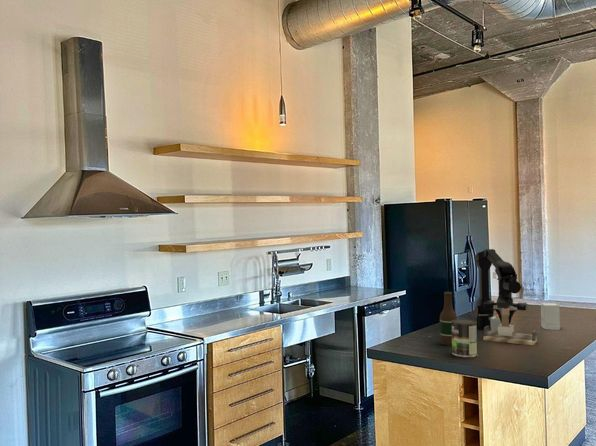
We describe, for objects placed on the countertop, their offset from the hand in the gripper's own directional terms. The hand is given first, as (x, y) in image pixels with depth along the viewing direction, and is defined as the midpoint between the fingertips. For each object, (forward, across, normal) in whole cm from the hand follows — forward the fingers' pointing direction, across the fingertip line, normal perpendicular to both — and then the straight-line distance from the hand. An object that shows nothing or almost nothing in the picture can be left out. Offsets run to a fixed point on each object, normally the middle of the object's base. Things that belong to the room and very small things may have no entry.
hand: (505, 323), depth 240 cm
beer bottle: (+8, -21, -20) cm, 30 cm away
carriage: (+5, 0, 0) cm, 5 cm away
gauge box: (+8, -5, +12) cm, 16 cm away
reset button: (+1, -5, +12) cm, 14 cm away
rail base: (+8, +2, 0) cm, 8 cm away
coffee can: (+8, -10, -35) cm, 37 cm away
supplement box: (+8, +15, +38) cm, 42 cm away
